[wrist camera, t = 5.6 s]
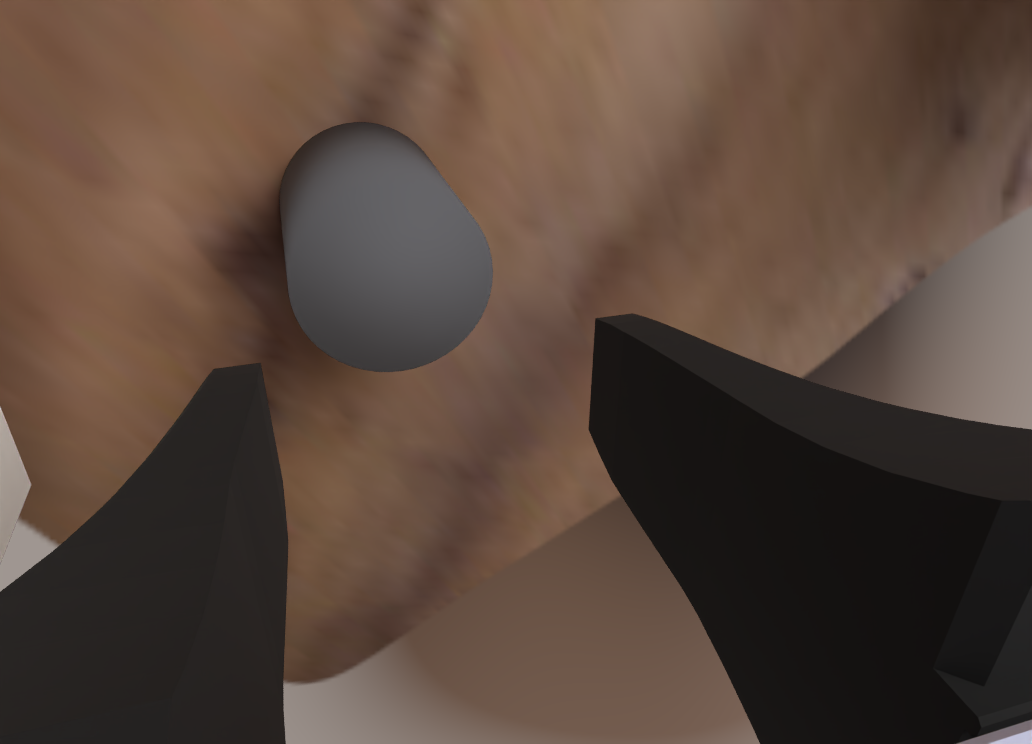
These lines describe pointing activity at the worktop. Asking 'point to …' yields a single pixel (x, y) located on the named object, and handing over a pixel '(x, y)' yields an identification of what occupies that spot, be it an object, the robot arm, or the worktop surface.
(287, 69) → the worktop surface
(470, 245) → the plug
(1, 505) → the tie bar
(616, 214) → the worktop surface
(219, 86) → the worktop surface
